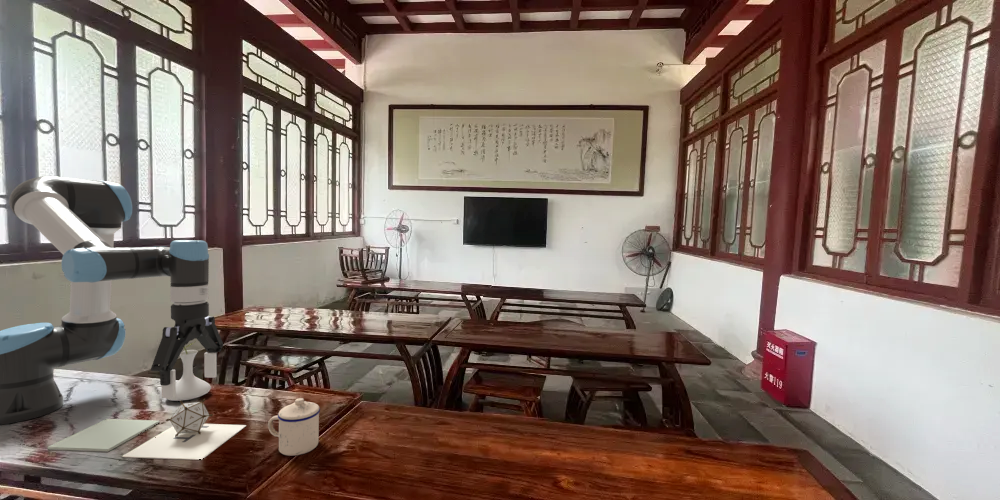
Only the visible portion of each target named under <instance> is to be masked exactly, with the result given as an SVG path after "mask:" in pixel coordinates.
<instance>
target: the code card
mask: <svg viewBox="0 0 1000 500" xmlns="http://www.w3.org/2000/svg"><path fill="white" fill-rule="evenodd" d="M245 427H247V425H246V424H227V423H226V424H223V423H221V424H219V423H204V425H203V426H202V428H201V429H200V432H201V434H198V432H191V433H181V434H178V436H176V437H175V435H176V434H177V432H176V430H175V428H174V427H173V425H172V426H171V427H169V428H167V429H166V430H164V431H162V432H160V433H159V434H157V435H156V436H154V437H152V438H150V439H149V440H147V441H145V442H143V443H142V444H140V445H139V446H137V447H135V448H134V449H132V450H130V451H128V452H127V453H125V454H123V455H121V458H129V459H130V458H132V459H133V458H135V459H160V460H161V459H164V460H167V459H168V460H188V461H190V460H191V461H192V460H193V461H195V460H196V461H202V460H203V458H204V459H205V458H206V457H207V456H209V455H210V454H211V453H213V452H214V451H215V450H216V449H218V448H219V447H221V446H222V445H223V444H225V443H226V442H227V441H228V440H230V439H231V438H232V437H234V436H236V435H237V434H238V433H239V432H240V431H242V430H243V429H245ZM155 437H156V438H155ZM199 459H201V460H199Z"/></svg>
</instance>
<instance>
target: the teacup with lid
mask: <svg viewBox="0 0 1000 500" xmlns="http://www.w3.org/2000/svg"><path fill="white" fill-rule="evenodd" d="M320 412H321V408H320V406H319V404H317V403H315V402H311V401H306V400H305V399H304V397H299V398H296V399H295V400H294V402H293V403H291V404H288V405H285V406H283V407H282V408H281V409H280V410H279V412H278V414H277V415H273V416H272V417H271V418H270V419H269V420H268V422H267V428H268V431H269V433H270V434H271V435H272V436H274V437H278V452H279V453H280V454H282V455H284V456H289V457H290V456H300V455H304V454H307V453H309V452H311V451H313V450H314V449H315V448H317V446H318V445H319V441H320V440H319V435H320V434H319V433H320V430H319V428H320V427H319V426H320V425H319V424H320V421H319V420H320V417H319V416H320ZM276 420H278V431H277V430H276V428H275V427H274V422H273V421H276Z"/></svg>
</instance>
